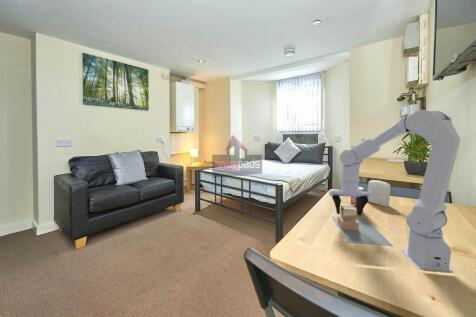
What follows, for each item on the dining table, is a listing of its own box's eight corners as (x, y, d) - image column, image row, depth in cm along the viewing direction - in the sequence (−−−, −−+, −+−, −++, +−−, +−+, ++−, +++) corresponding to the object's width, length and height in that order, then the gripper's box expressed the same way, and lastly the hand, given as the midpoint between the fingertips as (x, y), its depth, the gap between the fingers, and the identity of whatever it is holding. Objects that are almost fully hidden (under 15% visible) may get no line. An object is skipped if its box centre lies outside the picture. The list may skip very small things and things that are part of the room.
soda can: (364, 214, 95) (366, 189, 94) (352, 214, 96) (353, 189, 95) (360, 210, 100) (361, 186, 99) (348, 210, 102) (350, 186, 100)
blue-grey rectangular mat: (392, 247, 69) (393, 245, 69) (347, 243, 72) (347, 242, 72) (365, 219, 90) (365, 218, 90) (331, 217, 93) (331, 216, 93)
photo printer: (390, 206, 106) (392, 182, 104) (386, 207, 104) (388, 183, 102) (370, 200, 115) (371, 178, 113) (365, 201, 113) (366, 179, 111)
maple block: (356, 221, 81) (356, 209, 80) (343, 221, 81) (344, 208, 81) (352, 217, 85) (352, 205, 84) (340, 216, 86) (340, 204, 85)
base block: (358, 230, 80) (359, 222, 80) (341, 229, 81) (342, 221, 81) (353, 223, 86) (353, 216, 85) (337, 222, 87) (337, 215, 87)
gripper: (366, 178, 84) (364, 211, 85) (327, 177, 86) (326, 209, 88) (374, 183, 77) (371, 218, 79) (332, 182, 79) (330, 216, 81)
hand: (348, 214), depth 83 cm, fingers open, 7 cm apart
